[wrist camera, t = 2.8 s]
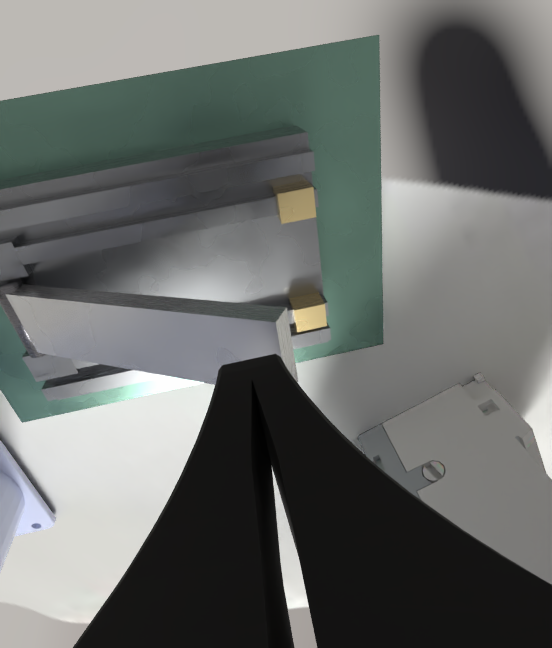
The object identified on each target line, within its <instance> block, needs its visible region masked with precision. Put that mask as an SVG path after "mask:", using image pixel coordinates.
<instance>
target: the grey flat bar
mask: <svg viewBox="0 0 552 648" xmlns="http://www.w3.org/2000/svg"><path fill="white" fill-rule="evenodd" d="M0 305H1V307H2V309H3V310H4V312H5V314H6V315H7V317H8V319H9V321H10V322H11V324H12V326H13V328H14V329H15V331H16V333H17V335H18V336H19V338H20V340H21V342H22V343H23V345H24V347H25V349H26V350H27V352H28V354H29V355H30V357H31V358H39V357H43V356H45V355H53V356H58V357H64V358H70V359H75V360H81V361H86V362H92V363H97V364H103V365H109V366H114V367H120V368H125V369H131V370H136V371H142V372H148V373H153V374H159V375H164V376H170V377H175V378H181V379H187V380H192V381H198V382H203V383H209V384H214V385H215V384H216V380H217V376H218V370H219V369H220V367H221V366H222V365H225V364H230V363H234V362H239V361H244V360H248V359H253V358H258V357H262V356H267V355H272V354H277V355H279V356H280V357H281V358H282V360H283V362H284V364H285V366H286V367H287V369H288V370H289V372H290V373H291V375H292V376H293V378H294V379H295V380H296V382H298V377H297V371H296V364H295V358H294V351H293V345H292V338H291V332H290V326H289V319H288V313H287V307H280V306H268V305H257V304H245V303H234V302H222V301H211V300H199V299H188V298H176V297H165V296H153V295H142V294H130V293H119V292H107V291H95V290H84V289H72V288H61V287H49V286H38V285H26V284H23V283H22V281H21V279H20V278H15V279H10V280H5V281H0Z"/></svg>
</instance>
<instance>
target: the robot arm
mask: <svg viewBox="0 0 552 648" xmlns="http://www.w3.org/2000/svg"><path fill="white" fill-rule="evenodd" d="M272 468H273V471H274V475H275V478H276V482H277V485H278V488H279V492H280V495H281V499H282V502H283V505H284V509H285V512H286V515H287V519H288V522H289V526H290V529H291V532H292V536H293V539H294V543H295V546H296V549H297V553H298V556H299V560H300V565H301V570H302V574H303V579H304V584H305V589H306V594H307V599H308V604H309V609H310V613H311V618H312V623H313V628H314V633H315V638H316V643H317V648H552V584H550V583H548V582H547V581H545V580H543V579H541V578H540V577H538V576H536V575H535V574H533V573H531V572H530V571H528V570H526V569H525V568H523V567H521V566H520V565H518V564H516V563H515V562H513V561H511V560H510V559H508V558H506V557H505V556H503V555H501V554H500V553H498V552H497V551H495V550H494V549H492V548H491V547H489V546H487V545H486V544H484V543H483V542H481V541H480V540H478V539H476V538H475V537H473V536H472V535H470V534H469V533H467V532H466V531H464V530H462V529H461V528H460V527H458V526H457V525H455V524H454V523H453V522H451V521H450V520H448V519H447V518H446V517H444V516H443V515H441V514H440V513H438V512H437V511H436V510H434V509H433V508H431V507H430V506H429V505H427V504H426V503H424V502H423V501H422V500H420V499H419V498H417V497H416V496H415V495H413V494H412V493H410V492H409V491H408V490H407V489H405V488H404V487H403V486H402V485H400V484H399V483H398V482H396V481H395V480H394V479H393V478H391V477H390V476H389V475H388V474H386V473H385V472H384V471H383V470H382V469H381V468H379V467H378V466H377V465H376V464H375V463H373V462H372V461H371V460H370V459H369V458H368V457H366V456H365V455H364V454H363V453H362V452H361V451H360V450H359V449H358V448H357V447H356V446H354V445H353V444H352V443H351V442H350V441H349V440H348V439H347V438H346V437H345V436H344V435H343V434H342V433H341V432H340V431H339V430H338V429H337V428H336V427H335V426H334V425H333V424H332V423H331V422H330V421H329V420H328V419H327V417H326V416H325V415H324V414H323V413H322V412H321V411H320V410H319V408H318V407H317V406H316V405H315V404H314V403H313V402H312V400H311V399H310V398H309V397H308V396H307V395H306V393H305V392H304V391H303V390H302V388H301V387H300V386H299V384H298V383H297V382H296V380H295V379H294V378H293V376H292V375H291V373H290V372H289V370H288V369H287V367H286V366H285V364H284V362H283V360H282V358H281V357H280V356H279V355H277V354H272V355H267V356H262V357H258V358H253V359H248V360H244V361H239V362H234V363H230V364H225V365H222V366H221V367H220V369H219V370H218V376H217V380H216V384H215V388H214V392H213V395H212V398H211V402H210V405H209V408H208V411H207V413H206V416H205V419H204V422H203V424H202V427H201V430H200V432H199V435H198V438H197V440H196V443H195V445H194V447H193V449H192V452H191V454H190V456H189V458H188V461H187V463H186V465H185V467H184V470H183V472H182V474H181V476H180V478H179V480H178V482H177V484H176V486H175V488H174V490H173V492H172V494H171V496H170V498H169V500H168V502H167V504H166V505H165V507H164V509H163V511H162V513H161V514H160V516H159V518H158V520H157V522H156V523H155V525H154V527H153V529H152V530H151V532H150V534H149V535H148V537H147V538H146V540H145V542H144V543H143V545H142V547H141V548H140V550H139V552H138V553H137V555H136V557H135V558H134V560H133V561H132V563H131V565H130V566H129V568H128V569H127V571H126V572H125V574H124V575H123V577H122V578H121V580H120V581H119V583H118V584H117V586H116V587H115V589H114V590H113V592H112V593H111V595H110V596H109V597H108V599H107V600H106V602H105V603H104V604H103V606H102V607H101V609H100V610H99V611H98V613H97V614H96V616H95V617H94V619H93V620H92V621H91V623H90V624H89V626H88V627H87V628H86V630H85V631H84V633H83V634H82V636H81V637H80V638H79V640H78V641H77V643H76V644H75V645H74V647H73V648H294V643H293V638H292V632H291V627H290V620H289V615H288V609H287V603H286V598H285V592H284V586H283V579H282V571H281V563H280V553H279V542H278V531H277V520H276V509H275V497H274V487H273V476H272ZM55 521H56V517H55V516H54V514H53V513H52V511H51V510H50V509H49V507H48V506H47V504H46V503H45V502H44V500H43V499H42V497H41V496H40V495H39V493H38V492H37V490H36V489H35V488H34V486H33V485H32V483H31V482H30V481H29V479H28V478H27V477H26V475H25V474H24V472H23V471H22V470H21V468H20V467H19V465H18V464H17V463H16V461H15V460H14V458H13V457H12V456H11V454H10V453H9V451H8V450H7V449H6V447H5V446H4V444H3V443H2V442H1V440H0V572H1V569H2V567H3V564H4V562H5V559H6V557H7V554H8V551H9V549H10V546H11V544H12V541H13V539H14V536H18V535H22V534H27V533H31V532H35V531H40V530H44V529H48V528H51V527H53V526H54V524H55Z"/></svg>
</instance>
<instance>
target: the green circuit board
mask: <svg viewBox="0 0 552 648" xmlns="http://www.w3.org/2000/svg"><path fill="white" fill-rule="evenodd" d="M379 65H380V63H379V35H376V36H369V37H363V38H358V39H352V40H346V41H341V42H335V43H329V44H323V45H318V46H312V47H307V48H301V49H295V50H289V51H283V52H279V53H272V54H267V55H260V56H255V57H249V58H243V59H238V60H232V61H227V62H220V63H215V64H209V65H203V66H198V67H192V68H187V69H180V70H175V71H169V72H163V73H158V74H152V75H146V76H140V77H134V78H129V79H124V80H118V81H112V82H106V83H101V84H94V85H89V86H83V87H77V88H71V89H66V90H60V91H54V92H49V93H43V94H37V95H32V96H26V97H20V98H14V99H9V100H3V101H0V281H5V280H10V279H15V278H20V279H21V281H22V283H23V284H26V285H38V286H49V287H61V288H72V289H84V290H95V291H107V292H119V293H130V294H142V295H153V296H165V297H176V298H188V299H199V300H211V301H222V302H234V303H245V304H257V305H268V306H280V307H287V313H288V319H289V326H290V332H291V338H292V345H293V351H294V358H295V363H298V362H303V361H307V360H312V359H316V358H321V357H326V356H330V355H335V354H339V353H344V352H349V351H353V350H358V349H362V348H367V347H372V346H376V345H381V344H383V290H382V214H381V143H380V141H381V140H380V139H381V138H380V68H379V67H380V66H379ZM202 383H203V382H198V381H192V380H187V379H181V378H175V377H170V376H164V375H159V374H153V373H148V372H142V371H136V370H131V369H125V368H120V367H114V366H109V365H103V364H97V363H92V362H86V361H81V360H75V359H70V358H64V357H58V356H53V355H45V356H43V357H39V358H31V357H30V355H29V354H28V352H27V350H26V349H25V347H24V345H23V343H22V342H21V340H20V338H19V336H18V335H17V333H16V331H15V329H14V328H13V326H12V324H11V322H10V321H9V319H8V317H7V315H6V314H5V312H4V310H3V309H2V307H1V305H0V390H1V391H2V393H3V394H4V396H5V397H6V399H7V400H8V402H9V403H10V405H11V406H12V408H13V409H14V411H15V412H16V414H17V415H18V417H19V418H20V420H21V422H27V421H31V420H36V419H41V418H45V417H50V416H54V415H59V414H64V413H68V412H73V411H77V410H82V409H87V408H91V407H96V406H100V405H105V404H110V403H114V402H119V401H123V400H128V399H133V398H137V397H142V396H146V395H151V394H156V393H160V392H165V391H169V390H174V389H179V388H183V387H188V386H192V385H197V384H202Z"/></svg>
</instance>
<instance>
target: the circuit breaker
mask: <svg viewBox="0 0 552 648" xmlns="http://www.w3.org/2000/svg"><path fill="white" fill-rule="evenodd" d="M473 377H474V379H475V380H474V381H472V382H470V383H468V384H466V385H464V386H461V385H460V384H457V385H455V386H453V387H451V388H449V389H447V390H445V391H443V392H441V393H439V394H437V395H436V396H434V397H432V398H430V399H428V400H426V401H424V402H422V403H420V404H418V405H416V406H414V407H413V408H411V409H409V410H407V411H405V412H403V413H401V414H399V415H397V416H395V417H393V418H391V419H389V420H388V421H386V422H384V423H382V424H380V425H378V426H376V427H374V428H372V429H370V430H368V431H367V432H365V433H363V434H361V435H359V437H358V439H359V441H360V443H361V446H362V448H363V450H364V453H365V455H366V457H368V458H369V459H370V460H371V461H372V462H373V463H375V464H376V465H377V466H378V467H379V468H381V469H382V470H383V471H384V472H385V473H386V474H388V475H389V476H390V477H391V478H393V479H394V480H395V481H396V482H398V483H399V484H400V485H402V486H403V487H404V488H405V489H407V490H408V491H409V492H410V493H412V494H413V495H415V496H416V497H417V498H419V499H420V500H422V501H423V502H424V503H426V504H427V505H429V506H430V507H431V508H433V509H434V510H436V511H437V512H438V513H440V514H441V515H443V516H444V517H446V518H447V519H448V520H450V521H451V522H453V523H454V524H455V525H457V526H458V527H460V528H461V529H462V530H464V531H466V532H467V533H469V534H470V535H472V536H473V537H475V538H476V539H478V540H480V541H481V542H483V543H484V544H486V545H487V546H489V547H491V548H492V549H494V550H495V551H497V552H498V553H500V554H501V555H503V556H505V557H506V558H508V559H510V560H511V561H513V562H515V563H516V564H518V565H520V566H521V567H523V568H525V569H526V570H528V571H530V572H531V573H533V574H535V575H536V576H538V577H540V578H541V579H543V580H545V581H547V582H548V583H550V584H552V480H551V479H550V477H549V476H548V475H547V474H546V471H545V468H544V465H543V462H542V458H541V455H540V452H539V449H538V446H537V442H536V439H535V436H534V433H533V430H532V428H531V427H530V426H529V425H528V424H527V423H526V421H525V420H524V419H523V418H522V417H521V416H520V415H519V414H518V413H517V412H516V411H515V410H514V409H513V407H512V406H511V405H510V404H509V403H508V402H507V401H506V400H505V399H504V398H503V397H502V396H501V395H500V393H499V392H498V391H497V390H496V389H495V390H493V388H492V387H491V386H490V385H489V384H488V383H487V382H486V381H485V379H484V376H483V375H482V374H481V373H478V374H476V375H474V376H473ZM382 425H383V426H382ZM389 438H390V439H389ZM390 440H391V441H390ZM391 442H392V443H391Z"/></svg>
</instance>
